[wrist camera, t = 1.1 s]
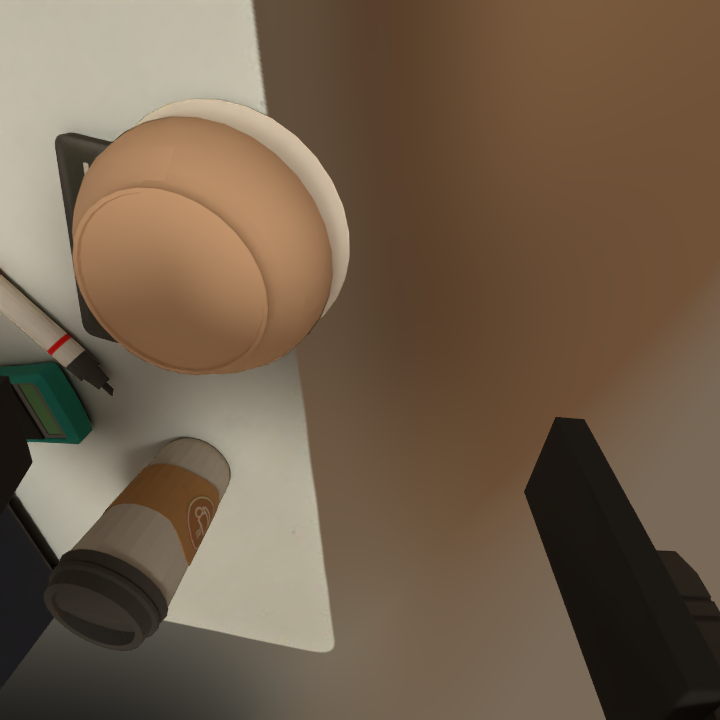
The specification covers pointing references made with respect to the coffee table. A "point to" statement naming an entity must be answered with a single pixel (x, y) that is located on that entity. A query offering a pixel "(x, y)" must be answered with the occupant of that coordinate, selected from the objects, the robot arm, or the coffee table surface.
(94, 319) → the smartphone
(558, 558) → the robot arm
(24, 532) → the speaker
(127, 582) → the coffee cup
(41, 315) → the marker
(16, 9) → the coffee table surface
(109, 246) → the bowl
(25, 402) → the digital multimeter
